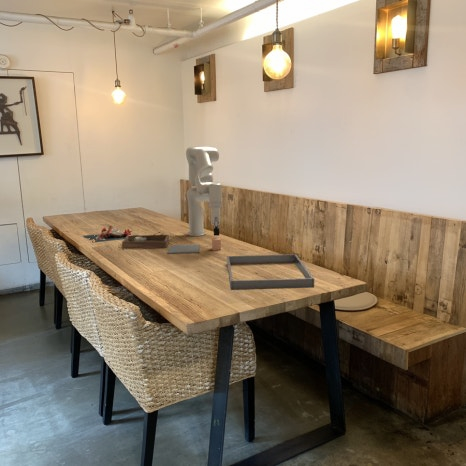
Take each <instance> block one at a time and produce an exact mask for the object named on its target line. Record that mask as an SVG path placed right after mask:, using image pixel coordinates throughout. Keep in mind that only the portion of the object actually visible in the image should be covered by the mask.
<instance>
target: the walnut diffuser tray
mask: <svg viewBox="0 0 466 466" xmlns="http://www.w3.org/2000/svg"><path fill="white" fill-rule="evenodd" d="M136 235H137V236H127V237H126V238H125V239H123V241H122V242H121V244H122V245H121V246H122V247H121V248H122V250H125V249H126V250H127V249H129V250H131V249H159V248H161V249H162V248H164V249H165V248H167V247H168V244H169V241H170V235H169V234H163V235H161V234H155V235H154V234H148V235H147V234H145V235H144V234H143V235H142V234H141V235H140V234H136ZM152 235H153V236H154V237H153V236H152ZM157 235H159V236H157ZM149 236H151V237H150V238H147V237H149ZM135 237H142V238H146V239H149V240H146V241H138V242H134V238H135ZM165 238H166V239H165ZM156 240H161V241H156Z"/></svg>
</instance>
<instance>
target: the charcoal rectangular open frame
mask: <svg viewBox="0 0 466 466" xmlns="http://www.w3.org/2000/svg"><path fill="white" fill-rule="evenodd" d="M278 263H279V264H281V263H282V264H283V263H285V264H287V263H294V264H295V265H296V267H297V268H298V270H299V271H300V273H301V274H302V276H303V278H301V277H299V278H272V279H271V278H267V279H266V278H265V279H238V280H237V279H236V280H235V279H234V280H233V274H232V266H231V265H242V264H243V265H244V264H245V265H247V264H278ZM226 267H227V272H228V279H229V287H230V288H229V289H230V291H241V290H243V291H246V290H248V291H250V290H276V289H277V290H279V289H280V290H281V289H284V290H285V289H308V288H309V289H310V288H311V289H313V288H315V277H314V276H313V275H312V274H311V272H310V271H309V269H308V268H307V266H306V265H305V264H304V263H303V262H302V260H301V259H300V258H299V256H298V254H296V253H295V254H293V253H291V254H290V253H289V254H259V255H257V254H256V255H255V254H254V255H252V254H251V255H227V256H226Z"/></svg>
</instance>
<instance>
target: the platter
mask: <svg viewBox="0 0 466 466" xmlns="http://www.w3.org/2000/svg"><path fill="white" fill-rule="evenodd" d="M132 232H134V230H130V229H129V228H128V229H124V231H122V230H121V229H119V228H116V227H114V226H112V225H110V226H109V228H108V229H107V228H106V227H103V228H102V229H101V233H98V234H86V235H82V237H83V238H84V239H87V240H89V243H91V241H92V244H94V243H102V242H110V241H111V242H112V241H119V240H120V241H121V240H124V239H125V238H126V237H127V236H137V235H138V234H132ZM131 234H132V235H131ZM94 235H95V236H94ZM89 238H90V239H89ZM93 239H94V240H95V242H93V241H94V240H93Z"/></svg>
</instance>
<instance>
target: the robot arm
mask: <svg viewBox="0 0 466 466" xmlns="http://www.w3.org/2000/svg"><path fill="white" fill-rule="evenodd" d="M185 155H186V157H185V158H186V161H187V163H188V182H189V185H190V186H192V188H191V187H190V188H188V190H187V191H186V199H187V204H188V205H187V206H188V228H189V231H187V232H186V233H187V234H186V235H187V236H191V237H197V236H198V237H199V236H204V235H206V233H207V232H206V231H204V212H203V211H204V208H203V206H202V205H201V204H200V203H201V202H202V203H203V202H208V207H209V208H210V224H211V225H212V226H213V236H215V237H216V236H220V223H221V208H222V207H223V192H222V191H223V190H222V188H223V187H222V184H221V183H219V182H218V181H214V177H213V170H214V166H213V163H214V162H218V161H219V159H220V153H219V150H218V149H217V148H215V147H214V146H190V147H187V148H186V151H185Z"/></svg>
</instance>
